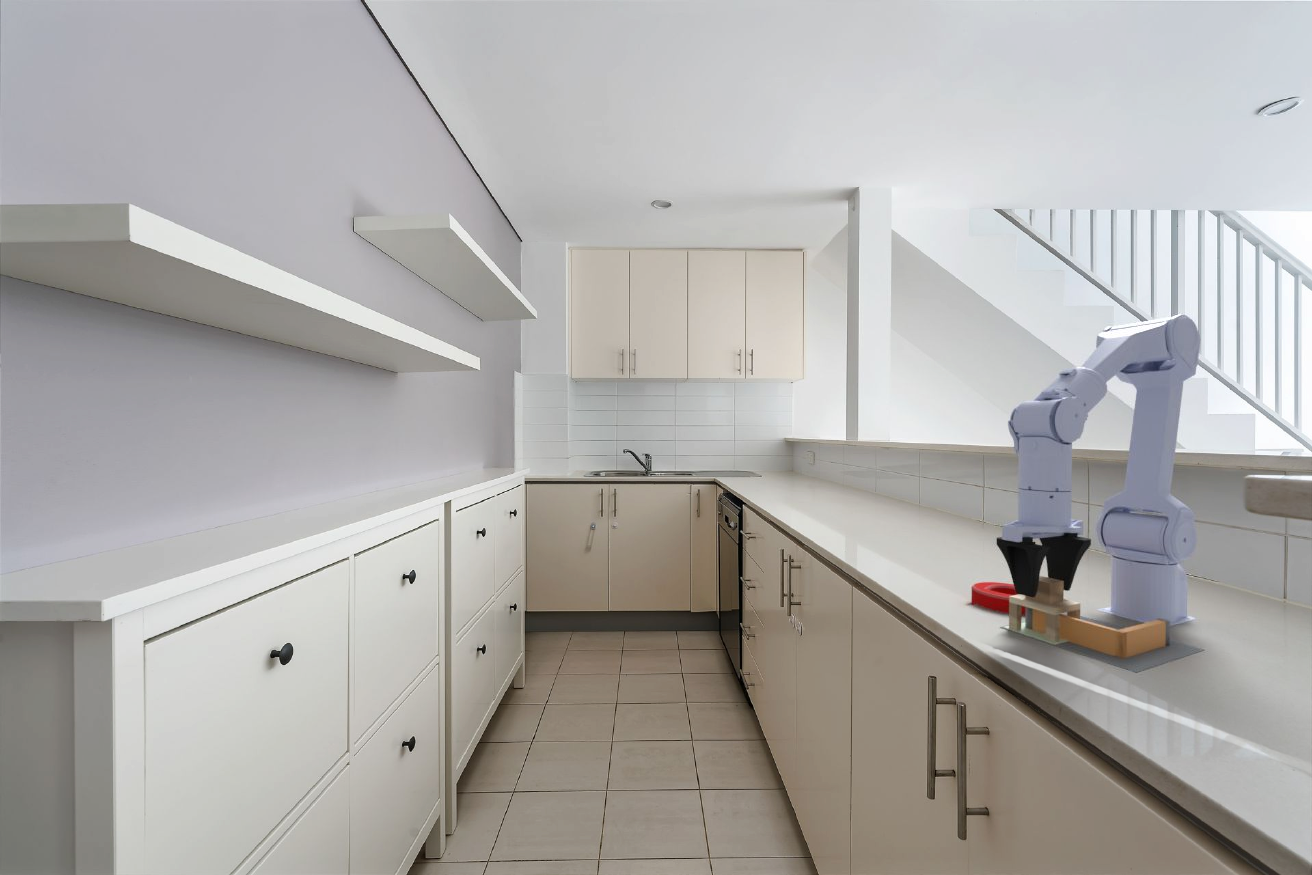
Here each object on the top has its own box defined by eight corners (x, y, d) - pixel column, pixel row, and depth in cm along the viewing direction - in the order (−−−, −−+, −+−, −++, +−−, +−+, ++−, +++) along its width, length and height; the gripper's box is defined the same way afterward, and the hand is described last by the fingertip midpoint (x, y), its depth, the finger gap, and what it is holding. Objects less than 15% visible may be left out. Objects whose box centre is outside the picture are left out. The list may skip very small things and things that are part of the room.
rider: (1034, 622, 74) (1034, 572, 74) (1080, 636, 68) (1080, 582, 68) (1008, 627, 71) (1009, 576, 71) (1054, 642, 66) (1055, 587, 66)
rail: (1070, 616, 76) (1071, 596, 76) (1171, 644, 66) (1171, 621, 66) (1023, 627, 72) (1023, 605, 72) (1124, 659, 61) (1124, 633, 61)
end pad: (1031, 621, 74) (1031, 620, 74) (1084, 637, 68) (1084, 636, 68) (1003, 627, 72) (1003, 626, 72) (1055, 644, 66) (1055, 643, 66)
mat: (1067, 616, 78) (1067, 612, 78) (1204, 654, 65) (1204, 649, 65) (999, 631, 72) (999, 627, 72) (1136, 677, 58) (1136, 672, 58)
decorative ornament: (957, 602, 86) (957, 582, 86) (1007, 599, 88) (1007, 580, 88) (1007, 622, 76) (1007, 600, 76) (1062, 618, 78) (1062, 597, 78)
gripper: (1044, 494, 63) (1043, 607, 63) (1110, 491, 69) (1109, 593, 69) (986, 489, 70) (985, 591, 70) (1051, 486, 76) (1050, 580, 76)
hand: (1043, 591), depth 70 cm, fingers open, 7 cm apart
